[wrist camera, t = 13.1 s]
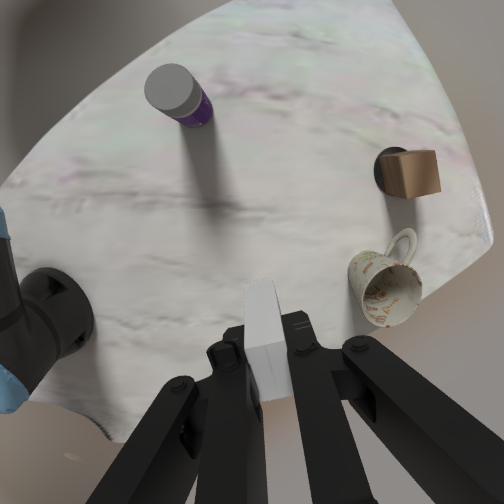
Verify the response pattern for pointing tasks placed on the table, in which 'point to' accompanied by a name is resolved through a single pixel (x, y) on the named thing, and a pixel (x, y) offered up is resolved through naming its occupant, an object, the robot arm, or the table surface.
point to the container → (178, 95)
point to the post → (377, 165)
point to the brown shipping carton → (410, 173)
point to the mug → (386, 283)
